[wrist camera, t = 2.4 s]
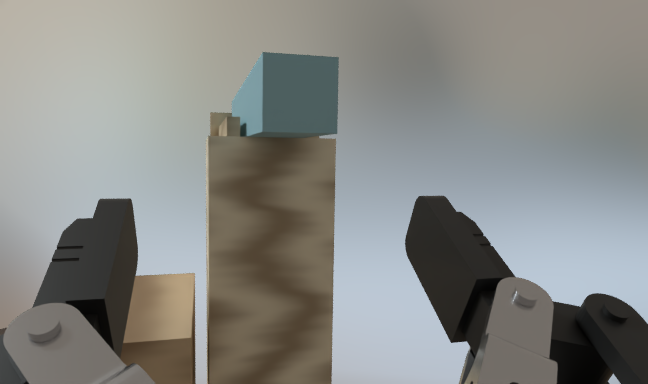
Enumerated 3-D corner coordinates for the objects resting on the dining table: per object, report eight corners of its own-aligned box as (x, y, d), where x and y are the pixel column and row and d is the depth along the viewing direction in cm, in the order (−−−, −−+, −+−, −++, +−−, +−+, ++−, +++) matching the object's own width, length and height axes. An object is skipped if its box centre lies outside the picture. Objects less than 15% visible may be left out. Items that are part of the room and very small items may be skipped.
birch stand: (210, 623, 31) (208, 93, 28) (207, 473, 46) (205, 112, 43) (327, 597, 33) (336, 99, 30) (289, 461, 48) (292, 115, 45)
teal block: (262, 131, 21) (262, 52, 21) (231, 141, 43) (232, 101, 42) (337, 133, 22) (338, 57, 22) (270, 141, 43) (271, 103, 43)
